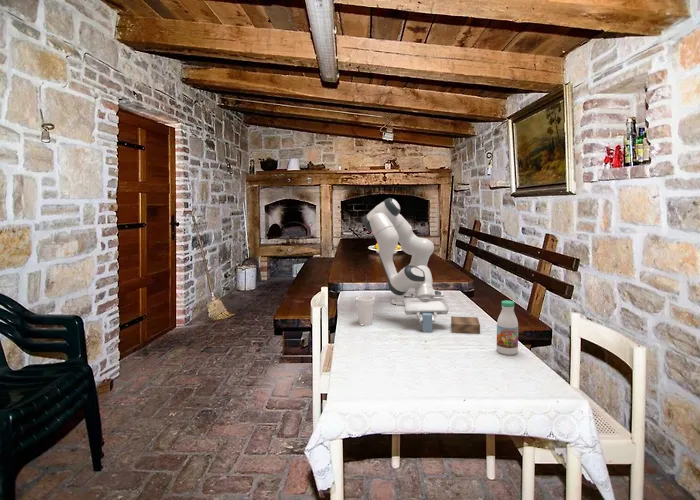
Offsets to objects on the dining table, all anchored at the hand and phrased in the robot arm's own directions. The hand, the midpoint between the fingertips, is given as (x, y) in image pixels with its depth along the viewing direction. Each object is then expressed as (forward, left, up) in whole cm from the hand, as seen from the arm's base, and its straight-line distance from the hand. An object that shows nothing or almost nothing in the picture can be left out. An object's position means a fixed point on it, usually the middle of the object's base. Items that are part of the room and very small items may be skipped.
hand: (427, 322), depth 176 cm
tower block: (0, +1, -4) cm, 4 cm away
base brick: (+17, +6, -4) cm, 18 cm away
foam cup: (-30, +8, -5) cm, 31 cm away
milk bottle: (+31, -20, -5) cm, 37 cm away
